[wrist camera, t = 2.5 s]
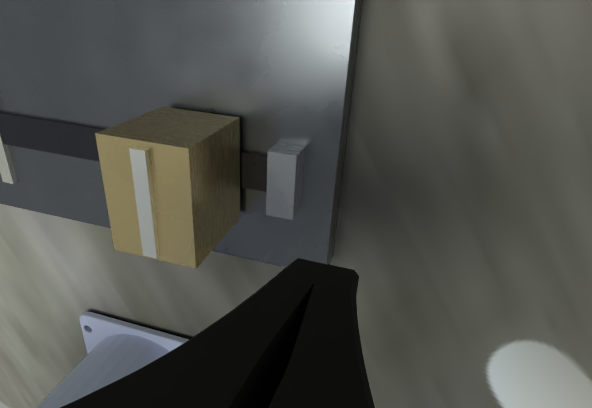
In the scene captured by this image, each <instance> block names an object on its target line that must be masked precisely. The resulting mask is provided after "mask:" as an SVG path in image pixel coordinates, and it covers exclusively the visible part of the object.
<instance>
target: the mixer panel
mask: <svg viewBox="0 0 592 408" xmlns="http://www.w3.org/2000/svg"><path fill="white" fill-rule="evenodd" d="M362 1H363V0H0V204H5V205H9V206H14V207H18V208H23V209H27V210H32V211H36V212H41V213H45V214H50V215H54V216H59V217H63V218H68V219H72V220H77V221H81V222H86V223H90V224H95V225H99V226H104V227H108V228H111V226H110V220H109V214H108V208H107V202H106V196H105V190H104V184H103V178H102V172H101V166H100V160H99V154H98V148H97V141H96V135H95V133H97V132H100V131H102V130H105V129H107V128H110V127H112V126H115V125H117V124H120V123H122V122H125V121H127V120H130V119H132V118H135V117H137V116H140V115H143V114H145V113H148V112H150V111H153V110H155V109H158V108H160V107H169V108H177V109H184V110H191V111H198V112H205V113H212V114H219V115H226V116H233V117H240V219H239V221H238V222H237V223H236V224H235V225H234V226H233V227H232V229H231V230H230V231H229V232H228V233H227V234H226V235H225V236H224V238H223V239H222V240H221V241H220V242H219V243H218V244H217V245H216V247H215V248H214V249H213V250H212V251H216V252H220V253H225V254H229V255H234V256H238V257H243V258H247V259H252V260H256V261H261V262H265V263H270V264H274V265H279V266H283V267H287V266H288V265H289V264H291V263H292V262H293V261H295V260H296V259H298V258H300V259H305V260H310V261H314V262H319V263H323V264H328V265H330V262H331V260H332V257H333V251H334V243H335V234H336V225H337V217H338V208H339V200H340V191H341V182H342V174H343V165H344V157H345V148H346V139H347V131H348V122H349V113H350V105H351V96H352V88H353V79H354V70H355V62H356V53H357V44H358V36H359V27H360V19H361V10H362Z"/></svg>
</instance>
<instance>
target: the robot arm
mask: <svg viewBox="0 0 592 408" xmlns="http://www.w3.org/2000/svg"><path fill="white" fill-rule="evenodd" d="M358 280H359V276H358V274H357V273H356V272H355V270H351V269H346V268H342V267H337V266H333V265H328V264H323V263H319V262H314V261H310V260H305V259H300V258H298V259H296V260H295V261H293V262H292V263H291V264H289V265H288V266H287V267H286V268H285V269H284V270H282V271H281V272H280V273H279V274H278V275H276V276H275V277H274V278H273V279H272V280H270V281H269V282H268V283H267V284H266V285H264V286H263V287H262V288H261V289H259V290H258V291H257V292H256V293H254V294H253V295H252V296H250V297H249V298H248V299H246V300H245V301H244V302H242V303H241V304H240V305H239V306H237V307H236V308H235V309H233V310H232V311H231V312H229V313H228V314H226V315H225V316H224V317H222V318H221V319H219V320H218V321H216V322H215V323H213V324H212V325H210V326H209V327H207V328H206V329H205V330H203V331H202V332H200V333H199V334H197V335H196V336H194V337H193V338H191V339H190V340H189V339H185V338H182V337H178V336H175V335H171V334H168V333H164V332H160V331H157V330H153V329H150V328H146V327H143V326H139V325H135V324H132V323H128V322H125V321H121V320H118V319H114V318H110V317H107V316H103V315H100V314H96V313H93V312H88V311H86V312H84V313H83V314H82V315H81V316H80V324H81V328H82V332H83V337H84V341H85V345H86V350H87V354H88V355H87V356H86V357H85V358H84V359H83V360H82V361H81V362H80V363H79V364H78V365H77V366H76V367H75V368H74V369H73V370H72V371H71V372H70V373H69V374H68V375H67V376H66V377H65V378H64V379H63V381H62V382H61V383H60V384H59V385H58V386H57V387H56V388H55V389H54V390H53V391H52V392H51V393H50V394H49V395H48V396H47V397H46V398H45V399H44V400H43V401H42V402H41V403H40V404H39V405H38V406H37V407H36V408H375V407H374V403H373V399H372V395H371V391H370V387H369V382H368V378H367V374H366V369H365V364H364V359H363V354H362V348H361V341H360V335H359V328H358V320H357V306H356V293H357V286H358Z"/></svg>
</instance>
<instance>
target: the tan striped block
mask: <svg viewBox="0 0 592 408" xmlns="http://www.w3.org/2000/svg"><path fill="white" fill-rule="evenodd" d="M95 135H96V141H97V148H98V154H99V160H100V166H101V172H102V178H103V184H104V190H105V196H106V202H107V208H108V214H109V220H110V226H111V232H112V238H113V244H114V250H118V251H123V252H127V253H131V254H135V255H140V256H144V257H148V258H152V259H157V260H161V261H165V262H169V263H174V264H178V265H182V266H186V267H191V268H195V269H196V268H197V267H198V266H199V265H200V264H201V262H202V261H203V260H204V259H205V258H206V257H207V256H208V255H209V253H210V252H211V251H212V250H213V249H214V248H215V247H216V245H217V244H218V243H219V242H220V241H221V240H222V239H223V238H224V236H225V235H226V234H227V233H228V232H229V231H230V230H231V229H232V227H233V226H234V225H235V224H236V223H237V222H238V221H239V219H240V117H233V116H226V115H219V114H212V113H205V112H198V111H191V110H184V109H177V108H169V107H160V108H158V109H155V110H153V111H150V112H148V113H145V114H143V115H140V116H137V117H135V118H132V119H130V120H127V121H125V122H122V123H120V124H117V125H115V126H112V127H110V128H107V129H105V130H102V131H100V132H97V133H95Z"/></svg>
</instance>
